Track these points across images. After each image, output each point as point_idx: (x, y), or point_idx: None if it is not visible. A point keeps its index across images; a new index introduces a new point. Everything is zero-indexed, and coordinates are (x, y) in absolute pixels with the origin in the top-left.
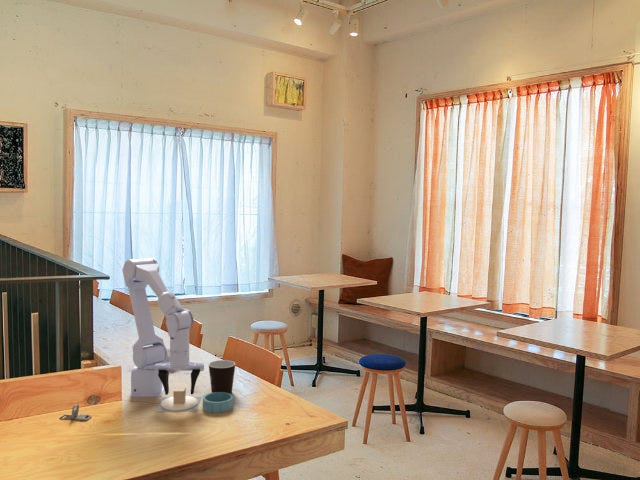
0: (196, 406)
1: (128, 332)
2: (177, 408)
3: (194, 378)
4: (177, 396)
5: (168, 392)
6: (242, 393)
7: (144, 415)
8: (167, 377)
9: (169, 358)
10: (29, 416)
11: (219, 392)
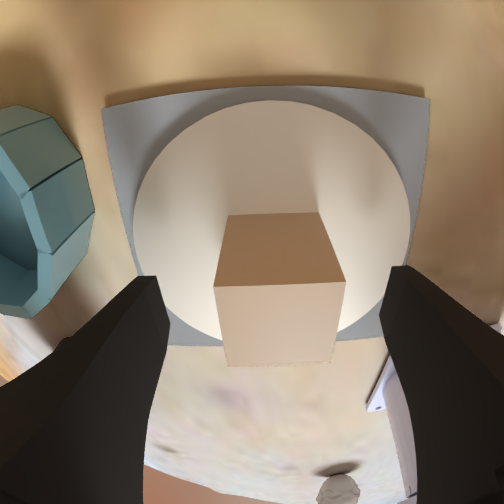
0: (129, 198)
1: (392, 498)
2: (263, 110)
3: (14, 400)
4: (290, 247)
5: (382, 310)
6: (35, 356)
7: (477, 74)
8: (447, 433)
9: (344, 498)
10: None
11: (11, 310)
